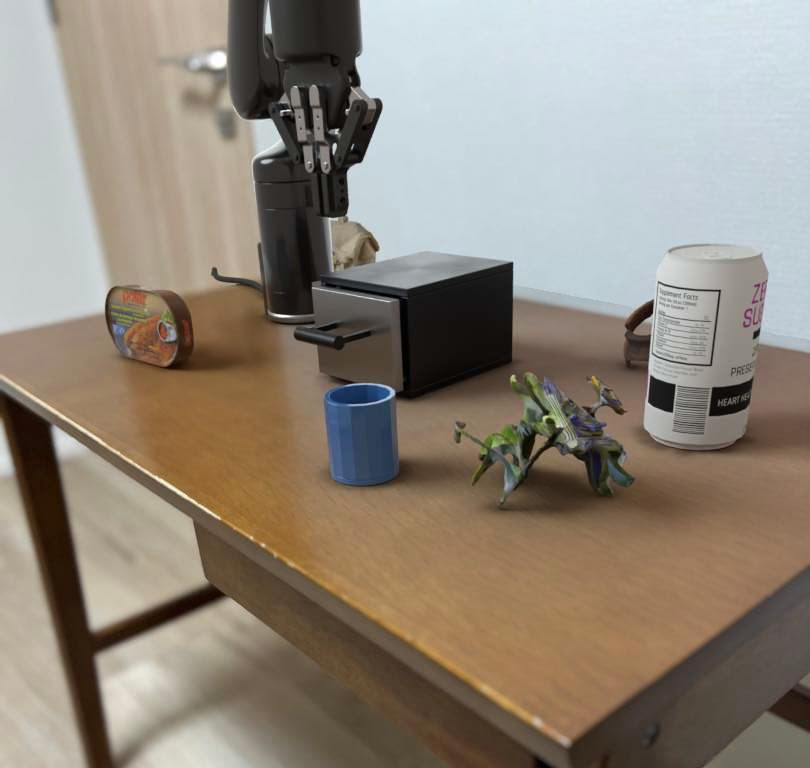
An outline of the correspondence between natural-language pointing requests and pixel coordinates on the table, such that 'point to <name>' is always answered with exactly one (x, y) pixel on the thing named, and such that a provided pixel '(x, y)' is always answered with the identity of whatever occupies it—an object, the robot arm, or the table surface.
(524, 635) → the table surface
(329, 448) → the blue cup
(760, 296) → the supplement can
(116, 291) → the tin
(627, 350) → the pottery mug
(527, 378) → the passion flower
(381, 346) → the dish drawer
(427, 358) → the black drawer cabinet
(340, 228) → the ceramic model
